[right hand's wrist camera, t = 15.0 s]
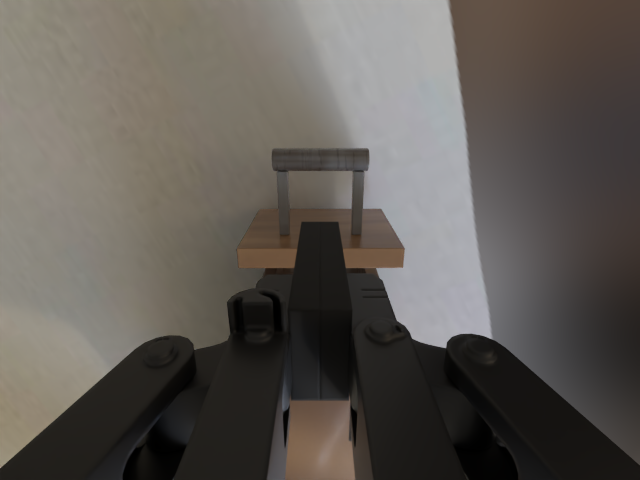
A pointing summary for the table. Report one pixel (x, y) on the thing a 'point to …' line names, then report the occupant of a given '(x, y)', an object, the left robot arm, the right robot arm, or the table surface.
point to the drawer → (320, 218)
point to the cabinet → (319, 441)
